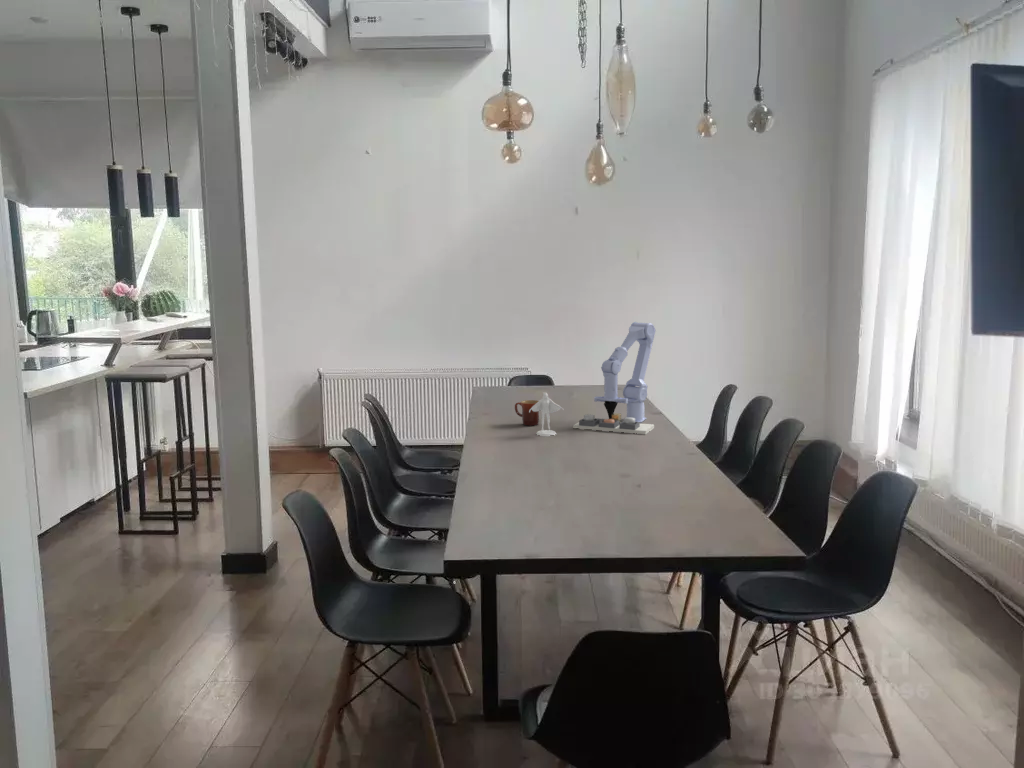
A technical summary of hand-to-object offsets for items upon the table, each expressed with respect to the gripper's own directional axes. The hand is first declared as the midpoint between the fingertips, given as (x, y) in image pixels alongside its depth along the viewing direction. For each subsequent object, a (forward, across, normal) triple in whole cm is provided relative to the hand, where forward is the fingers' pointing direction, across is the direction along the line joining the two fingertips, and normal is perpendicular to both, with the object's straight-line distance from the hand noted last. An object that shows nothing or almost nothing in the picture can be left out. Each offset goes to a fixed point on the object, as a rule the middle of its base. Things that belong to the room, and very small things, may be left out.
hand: (610, 418), depth 351 cm
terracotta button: (+2, +2, -7) cm, 7 cm away
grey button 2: (0, +11, -7) cm, 13 cm away
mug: (+3, -36, -10) cm, 37 cm away
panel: (+3, +2, -4) cm, 6 cm away
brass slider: (+1, +3, 0) cm, 3 cm away
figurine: (+3, -20, -24) cm, 31 cm away
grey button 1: (0, -8, -7) cm, 10 cm away
